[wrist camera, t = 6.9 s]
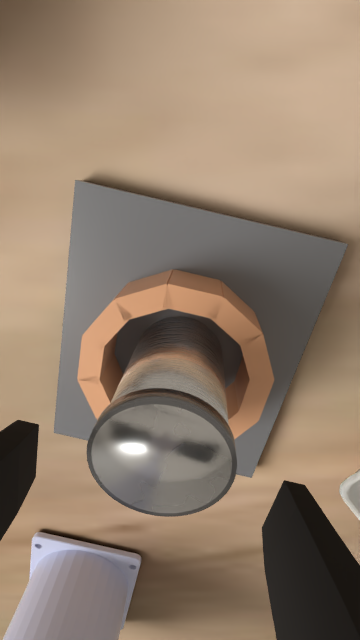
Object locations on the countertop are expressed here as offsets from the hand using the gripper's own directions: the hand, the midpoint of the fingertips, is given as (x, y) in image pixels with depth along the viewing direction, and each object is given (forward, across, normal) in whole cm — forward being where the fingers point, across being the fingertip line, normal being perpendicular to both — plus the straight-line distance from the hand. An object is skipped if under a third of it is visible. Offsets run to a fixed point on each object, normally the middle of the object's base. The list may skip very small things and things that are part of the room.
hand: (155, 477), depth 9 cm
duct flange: (+8, 0, 0) cm, 9 cm away
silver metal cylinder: (+8, 0, 0) cm, 8 cm away
